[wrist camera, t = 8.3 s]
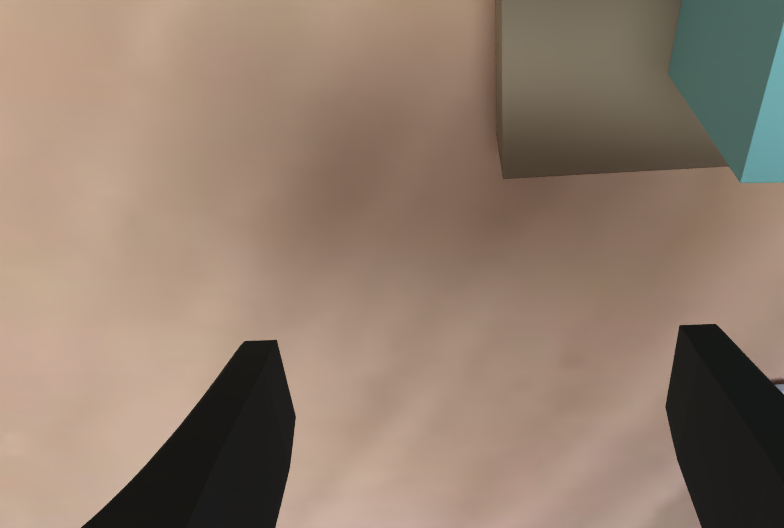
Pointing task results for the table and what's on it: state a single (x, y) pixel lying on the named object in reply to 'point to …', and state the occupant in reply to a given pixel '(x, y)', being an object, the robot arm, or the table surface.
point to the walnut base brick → (592, 90)
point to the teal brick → (735, 80)
